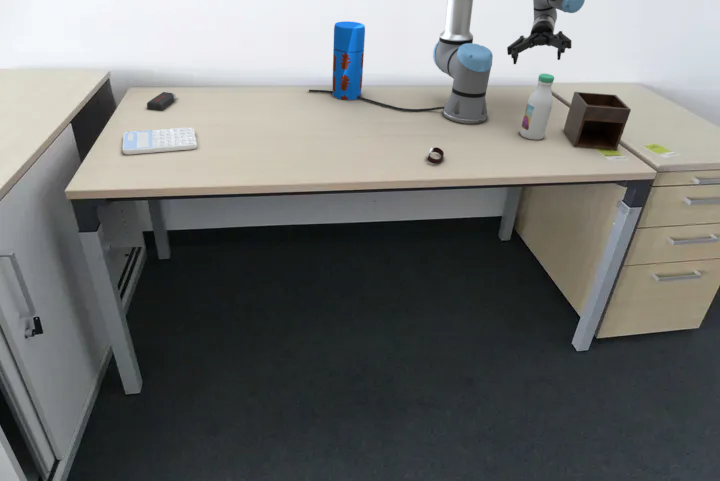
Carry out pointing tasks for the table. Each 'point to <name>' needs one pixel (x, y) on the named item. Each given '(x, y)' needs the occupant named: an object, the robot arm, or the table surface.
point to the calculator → (159, 140)
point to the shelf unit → (596, 120)
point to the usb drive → (161, 101)
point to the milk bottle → (538, 109)
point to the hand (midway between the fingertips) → (536, 58)
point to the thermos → (348, 59)
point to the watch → (436, 152)
